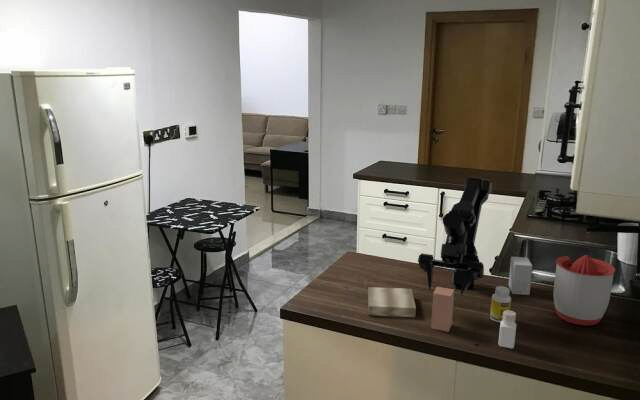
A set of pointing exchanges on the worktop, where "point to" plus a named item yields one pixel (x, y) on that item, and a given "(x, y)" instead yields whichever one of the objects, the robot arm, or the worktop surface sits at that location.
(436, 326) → the terracotta block
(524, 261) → the small box
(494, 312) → the supplement bottle
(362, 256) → the worktop surface
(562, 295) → the citrus juicer
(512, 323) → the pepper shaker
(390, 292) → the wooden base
